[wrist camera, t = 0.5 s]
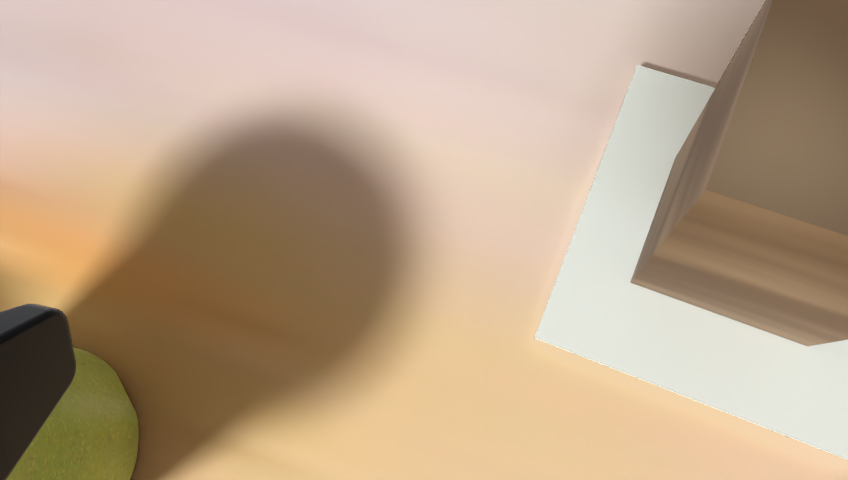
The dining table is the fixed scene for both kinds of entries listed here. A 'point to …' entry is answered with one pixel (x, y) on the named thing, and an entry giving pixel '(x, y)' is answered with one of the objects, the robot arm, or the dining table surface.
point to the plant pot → (85, 430)
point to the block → (765, 184)
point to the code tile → (670, 318)
